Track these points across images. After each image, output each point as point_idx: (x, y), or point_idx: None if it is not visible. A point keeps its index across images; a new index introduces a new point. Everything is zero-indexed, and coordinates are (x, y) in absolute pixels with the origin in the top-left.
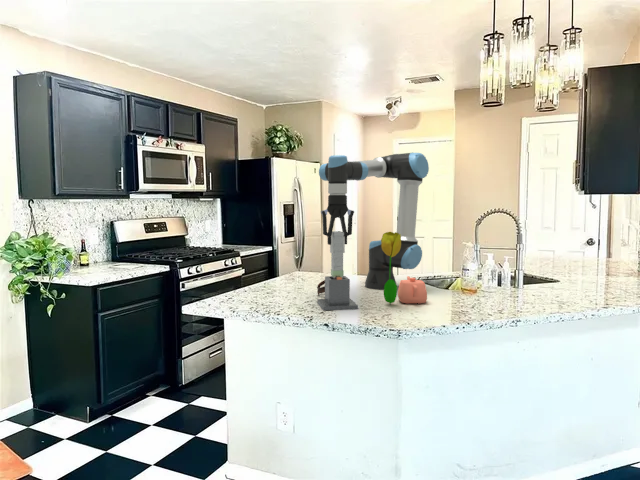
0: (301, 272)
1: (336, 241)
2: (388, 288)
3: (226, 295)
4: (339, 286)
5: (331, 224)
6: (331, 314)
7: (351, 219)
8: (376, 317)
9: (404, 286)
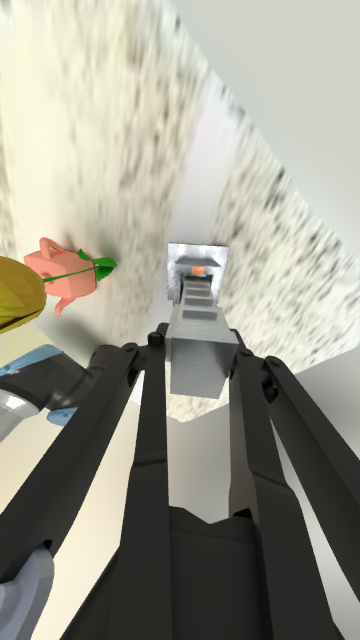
0: (183, 421)
1: (209, 323)
2: (99, 262)
3: (309, 364)
4: (197, 263)
5: (264, 420)
6: (226, 211)
7: (54, 455)
8: (151, 158)
9: (68, 263)
